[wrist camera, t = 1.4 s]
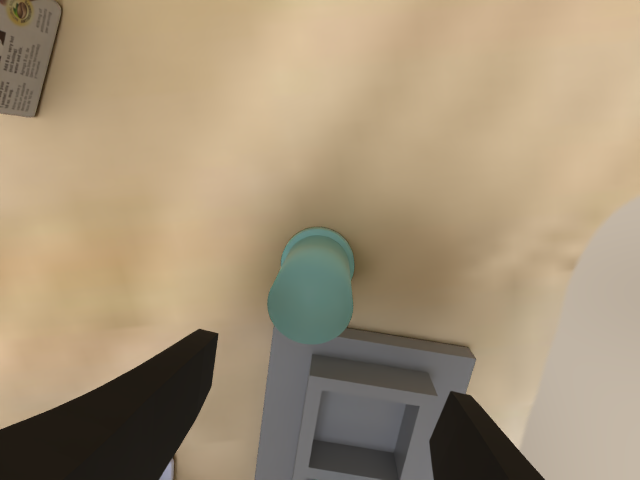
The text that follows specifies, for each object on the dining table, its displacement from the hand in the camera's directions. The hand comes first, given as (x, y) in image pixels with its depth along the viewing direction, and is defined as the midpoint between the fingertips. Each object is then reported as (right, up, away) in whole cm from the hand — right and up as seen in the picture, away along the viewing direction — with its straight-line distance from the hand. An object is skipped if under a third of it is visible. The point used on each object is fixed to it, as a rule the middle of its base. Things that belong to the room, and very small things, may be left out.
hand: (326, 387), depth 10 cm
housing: (+2, -9, +13) cm, 16 cm away
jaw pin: (0, +3, +10) cm, 10 cm away
